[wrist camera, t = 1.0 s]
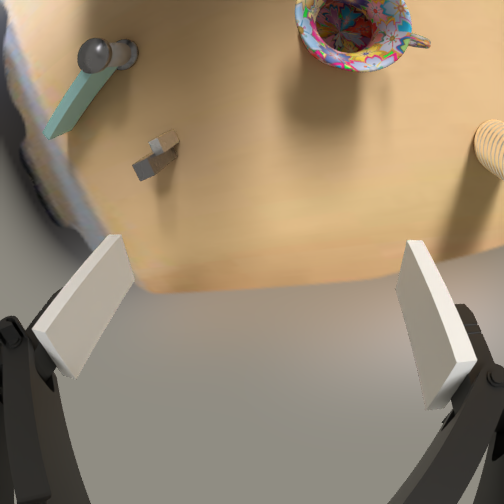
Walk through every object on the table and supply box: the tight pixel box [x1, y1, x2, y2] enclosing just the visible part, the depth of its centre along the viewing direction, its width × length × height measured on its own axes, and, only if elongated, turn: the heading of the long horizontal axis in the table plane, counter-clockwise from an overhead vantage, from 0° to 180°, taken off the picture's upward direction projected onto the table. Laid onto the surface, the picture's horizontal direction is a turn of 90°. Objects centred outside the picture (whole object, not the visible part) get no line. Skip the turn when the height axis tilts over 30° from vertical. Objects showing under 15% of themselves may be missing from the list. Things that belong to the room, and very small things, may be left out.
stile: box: [132, 129, 180, 181], centre depth 34 cm, size 3×3×7 cm
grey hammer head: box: [78, 38, 139, 74], centre depth 28 cm, size 4×4×7 cm
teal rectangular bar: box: [42, 43, 131, 140], centre depth 31 cm, size 14×3×5 cm, turn 131°
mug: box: [295, 0, 431, 72], centre depth 23 cm, size 12×9×11 cm
